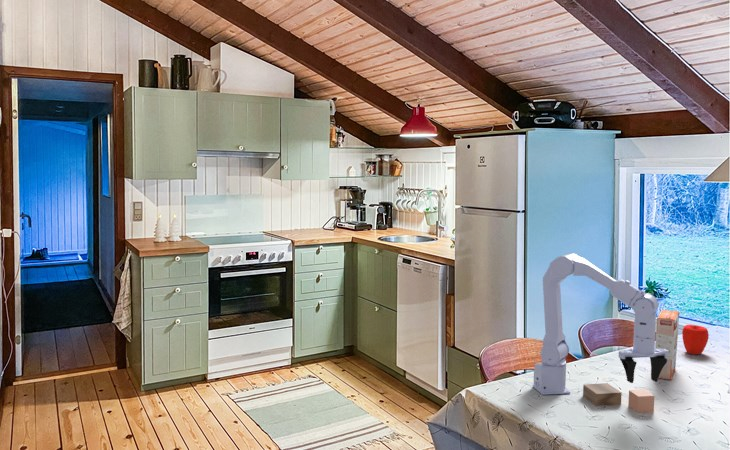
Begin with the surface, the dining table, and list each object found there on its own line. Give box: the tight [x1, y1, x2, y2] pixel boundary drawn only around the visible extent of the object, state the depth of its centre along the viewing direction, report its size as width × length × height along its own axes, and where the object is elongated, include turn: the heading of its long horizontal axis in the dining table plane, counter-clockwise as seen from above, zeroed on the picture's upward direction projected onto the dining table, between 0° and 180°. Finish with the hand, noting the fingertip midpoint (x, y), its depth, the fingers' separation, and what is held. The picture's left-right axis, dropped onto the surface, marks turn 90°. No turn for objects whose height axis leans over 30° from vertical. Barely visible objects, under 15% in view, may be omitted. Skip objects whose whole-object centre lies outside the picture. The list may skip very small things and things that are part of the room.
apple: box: [681, 324, 710, 355], centre depth 238 cm, size 9×9×11 cm
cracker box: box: [655, 309, 680, 381], centre depth 214 cm, size 14×6×21 cm, turn 148°
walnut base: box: [582, 382, 622, 407], centre depth 191 cm, size 8×8×4 cm
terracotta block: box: [627, 389, 655, 414], centre depth 184 cm, size 5×5×5 cm
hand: (642, 381), depth 184 cm, fingers open, 7 cm apart
